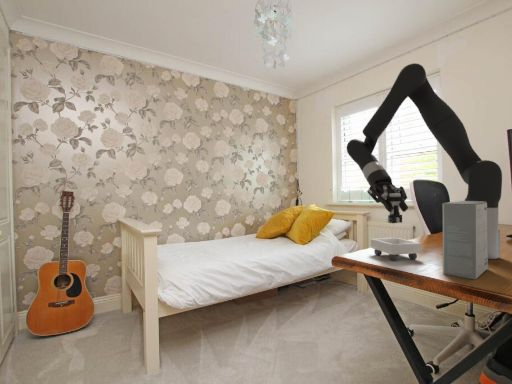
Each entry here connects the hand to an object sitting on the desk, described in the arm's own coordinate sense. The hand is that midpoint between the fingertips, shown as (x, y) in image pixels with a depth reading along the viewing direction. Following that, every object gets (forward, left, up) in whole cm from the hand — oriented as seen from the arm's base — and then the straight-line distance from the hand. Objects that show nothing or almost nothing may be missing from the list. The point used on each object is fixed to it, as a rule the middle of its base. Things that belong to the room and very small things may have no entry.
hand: (398, 210), depth 94 cm
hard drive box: (-8, +17, -17) cm, 25 cm away
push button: (0, -2, -5) cm, 5 cm away
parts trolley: (0, -2, -16) cm, 17 cm away
